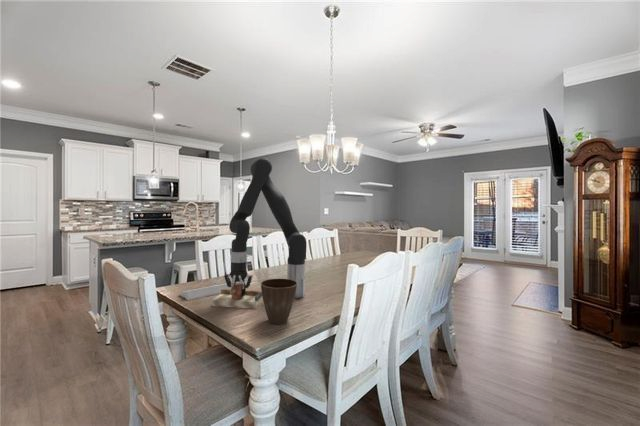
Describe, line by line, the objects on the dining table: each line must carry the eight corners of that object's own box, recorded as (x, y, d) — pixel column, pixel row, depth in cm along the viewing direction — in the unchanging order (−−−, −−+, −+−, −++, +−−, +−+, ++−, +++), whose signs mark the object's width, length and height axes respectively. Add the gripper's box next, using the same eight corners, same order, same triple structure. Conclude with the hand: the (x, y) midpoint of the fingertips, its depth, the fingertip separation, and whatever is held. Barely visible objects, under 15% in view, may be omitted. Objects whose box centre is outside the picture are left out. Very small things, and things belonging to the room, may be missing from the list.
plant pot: (283, 311, 135) (283, 276, 135) (303, 322, 124) (304, 283, 123) (253, 319, 125) (254, 281, 125) (272, 331, 114) (273, 290, 114)
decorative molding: (180, 301, 154) (188, 300, 147) (179, 292, 155) (187, 291, 148) (239, 289, 179) (248, 288, 172) (238, 281, 179) (247, 279, 173)
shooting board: (262, 300, 149) (262, 291, 149) (255, 308, 138) (256, 297, 138) (222, 298, 151) (222, 288, 151) (212, 306, 140) (212, 295, 140)
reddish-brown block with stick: (244, 295, 148) (245, 283, 148) (235, 303, 136) (235, 290, 136) (237, 294, 149) (237, 282, 148) (227, 302, 137) (227, 289, 136)
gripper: (255, 259, 147) (255, 294, 148) (227, 258, 149) (227, 292, 149) (250, 262, 140) (250, 299, 140) (221, 261, 141) (220, 297, 142)
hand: (238, 295), depth 145 cm, fingers closed on reddish-brown block with stick, 4 cm apart
